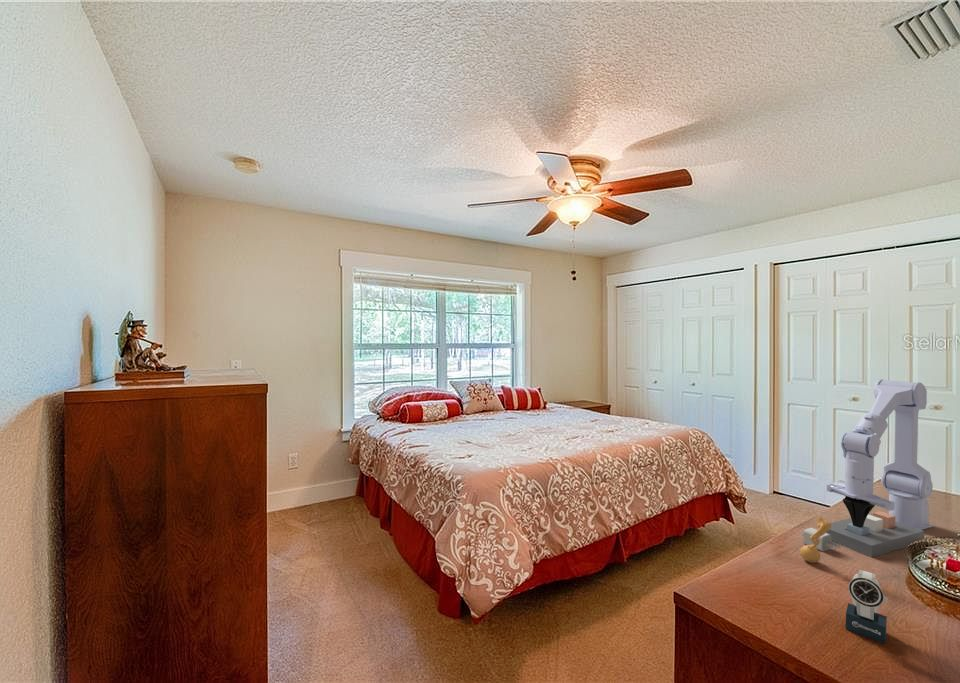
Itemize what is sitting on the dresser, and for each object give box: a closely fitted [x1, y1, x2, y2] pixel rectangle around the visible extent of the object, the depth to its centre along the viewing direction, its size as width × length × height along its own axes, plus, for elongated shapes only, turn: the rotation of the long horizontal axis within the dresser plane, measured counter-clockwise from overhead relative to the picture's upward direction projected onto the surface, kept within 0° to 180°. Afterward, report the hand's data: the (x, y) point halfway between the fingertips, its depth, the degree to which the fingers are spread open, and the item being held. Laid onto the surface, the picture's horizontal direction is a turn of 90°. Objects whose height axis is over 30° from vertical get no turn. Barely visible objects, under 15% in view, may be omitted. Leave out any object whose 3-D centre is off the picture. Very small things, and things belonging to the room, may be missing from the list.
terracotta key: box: [872, 510, 896, 529], centre depth 119 cm, size 3×3×4 cm
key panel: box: [826, 513, 925, 558], centre depth 117 cm, size 24×12×3 cm, turn 111°
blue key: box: [847, 523, 870, 536], centre depth 115 cm, size 3×3×4 cm
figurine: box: [799, 516, 831, 564], centre depth 104 cm, size 8×6×12 cm
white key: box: [864, 513, 883, 533], centre depth 117 cm, size 3×3×4 cm
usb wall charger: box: [803, 527, 841, 552], centre depth 111 cm, size 4×7×4 cm, turn 23°
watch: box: [845, 569, 888, 645], centre depth 80 cm, size 6×8×11 cm
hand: (858, 526), depth 115 cm, fingers closed, pressing on blue key
